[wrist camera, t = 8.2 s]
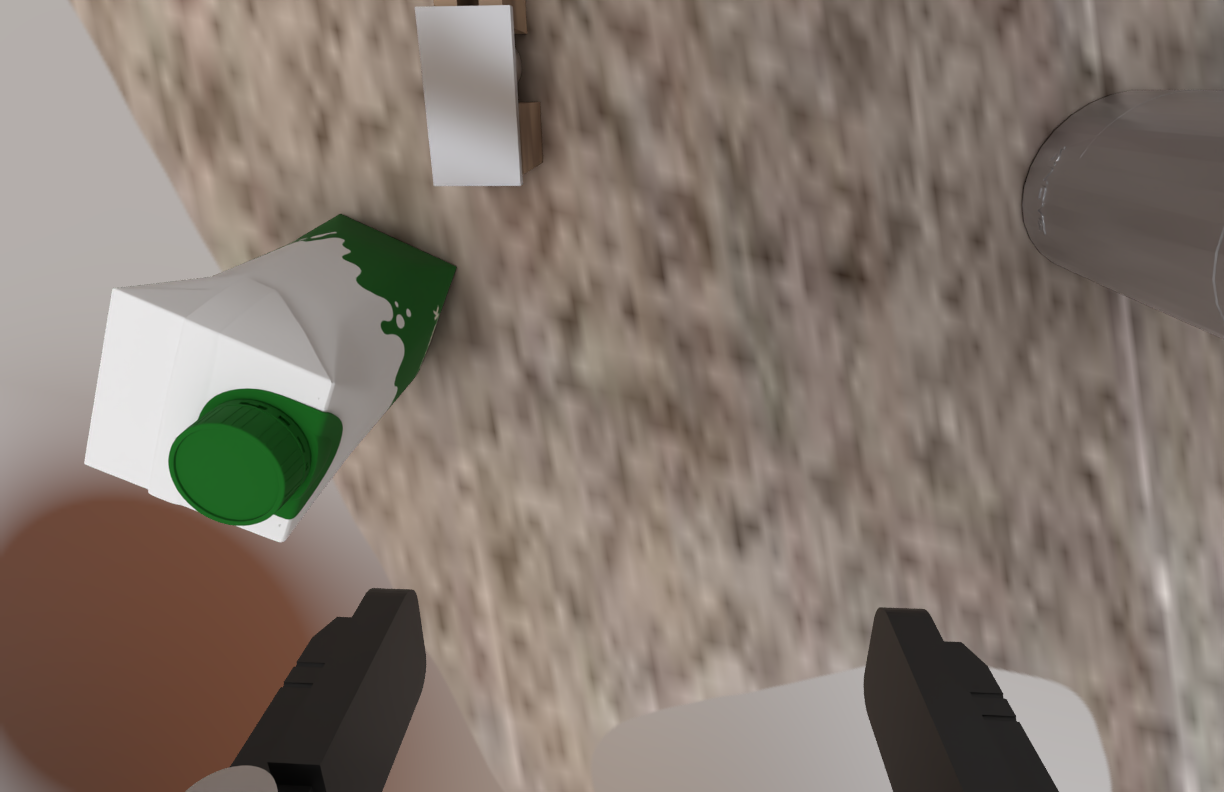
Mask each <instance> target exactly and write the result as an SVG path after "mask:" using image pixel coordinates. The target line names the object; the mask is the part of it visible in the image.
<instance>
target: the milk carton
mask: <svg viewBox="0 0 1224 792" xmlns="http://www.w3.org/2000/svg"><path fill="white" fill-rule="evenodd" d="M456 268H457V267H456V266H454V265H452V264H450V263H447V262H445V261H443V260H441V259H439V258H436V257H434V256H432V255H430V254H428V253H425V252H423V251H421V250H419V249H417V248H414V247H412V246H410V245H408V244H406V243H403V242H401V241H399V240H397V239H395V238H392V237H390V236H388V235H386V234H384V233H381V232H379V231H377V230H375V229H373V228H370V227H368V226H366V225H364V224H362V223H360V222H357V221H355V220H353V219H351V218H349V217H346V216H344V215H342V214H339V215H337V216H336V217H334V218H332V219H331V220H329V221H327V222H326V223H324V224H322V225H320V226H319V227H317V228H315V229H314V230H312V231H310V232H309V233H307V234H305V235H303V236H302V237H300V238H298V239H297V240H295V241H293V242H292V243H290V244H288V245H286V246H283V247H281V248H279V249H276V250H274V251H271V252H269V253H267V254H264V255H262V256H260V257H257V258H255V259H252V260H250V261H248V262H245V263H243V264H240V265H238V266H236V267H233V268H231V269H228V270H226V271H224V272H221V273H219V274H217V275H214V276H212V277H205V278H197V279H189V280H181V281H173V282H164V283H156V284H147V285H138V286H130V287H121V288H113V290H112V295H111V301H110V307H109V313H108V319H107V325H106V331H105V338H104V344H103V351H102V356H101V362H100V369H99V375H98V381H97V387H96V394H95V400H94V406H93V412H92V418H91V424H90V431H89V437H88V443H87V449H86V455H85V464H86V465H88V466H91V467H93V468H96V469H98V470H101V471H103V472H106V473H108V474H111V475H113V476H116V477H118V478H121V479H124V480H126V481H129V482H131V483H134V484H136V485H139V486H142V487H144V488H147V489H149V490H148V492H149V494H151V495H153V496H155V497H158V498H160V499H162V500H165V501H168V502H171V503H173V504H180V505H183V506H185V507H188V508H191V509H193V510H196V511H198V512H200V513H201V514H203V515H204V516H206V517H208V518H210V519H213V520H215V521H218V522H221V523H224V524H228V525H235V526H238V527H240V528H243V529H246V530H248V531H251V532H253V533H256V534H259V535H261V536H264V537H266V538H269V539H272V540H275V541H277V542H283V541H285V540H286V539H287V538H288V536H289V535H290V533H291V532H292V531H293V530H294V528H295V527H296V525H297V524H298V523H299V521H300V520H301V519H302V517H303V516H304V515H305V513H306V512H307V511H308V509H309V508H310V507H311V505H312V504H313V503H314V501H315V500H316V499H317V497H318V496H319V495H320V493H321V492H322V491H323V489H324V488H325V487H326V485H327V484H328V483H329V481H330V480H331V479H332V477H333V476H334V475H335V473H336V472H337V471H338V469H339V468H340V467H341V465H342V464H343V463H344V462H345V460H346V459H347V458H348V456H349V455H350V454H351V453H352V451H353V450H354V449H355V448H356V447H357V445H358V444H359V443H360V442H361V441H362V440H363V438H364V437H365V436H366V435H367V434H368V432H369V431H370V430H371V429H372V428H373V427H374V425H375V424H376V423H377V422H378V421H379V419H380V418H381V417H382V416H383V415H384V414H385V412H386V411H387V410H388V409H389V408H390V406H391V405H392V404H393V403H394V402H395V401H396V399H397V398H398V397H399V396H400V395H401V393H402V392H403V391H404V390H405V389H406V388H407V386H408V385H409V384H410V383H411V382H412V380H413V379H414V378H415V376H416V375H417V374H418V372H419V370H420V367H421V365H422V362H423V360H424V357H425V355H426V352H427V349H428V347H429V344H430V342H431V339H432V336H433V333H434V330H435V327H436V324H437V321H438V319H439V316H440V313H441V310H442V307H443V304H444V302H445V299H446V296H447V293H448V290H449V287H450V285H451V282H452V279H453V276H454V273H455V270H456Z"/></svg>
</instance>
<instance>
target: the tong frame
mask: <svg viewBox="0 0 1224 792" xmlns="http://www.w3.org/2000/svg"><path fill="white" fill-rule="evenodd" d="M415 13H416V23H417V32H418V42H419V51H420V60H421V70H422V79H423V89H424V98H425V107H426V117H427V126H428V136H429V145H430V154H431V164H432V173H433V183H434V186H521V185H522V184H523V177H522V174H525V173H527V172H528V171H530V170H531V169H533V168H534V167H536V166H538V165H539V164H541V163H542V162H543V153H542V131H541V109H540V102H518V91H517V73H516V56H515V39H514V34H527V20H526V1H525V0H479V6H433V7H415Z"/></svg>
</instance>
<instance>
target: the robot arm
mask: <svg viewBox="0 0 1224 792" xmlns="http://www.w3.org/2000/svg"><path fill="white" fill-rule="evenodd" d="M1022 207H1023V216H1024V223H1025V226H1026V229H1027V232H1028V234H1029V237H1030V239H1031V241H1032V242H1033V243H1034V245H1035V246H1036V248H1037V249H1038V250H1039V252H1040V253H1042V254H1043V255H1044V256H1045V257H1046V258H1048V259H1049V260H1050V261H1051V262H1053V263H1055V264H1057V265H1059V266H1061V267H1063V268H1065V269H1068V270H1070V271H1072V272H1074V273H1076V274H1079V275H1081V276H1083V277H1085V278H1087V279H1090V280H1092V281H1094V282H1096V283H1098V284H1100V285H1102V286H1104V287H1107V288H1109V289H1111V290H1113V291H1116V292H1118V293H1120V294H1123V295H1125V296H1127V297H1129V298H1132V299H1134V300H1136V301H1138V302H1141V303H1143V304H1145V305H1147V306H1150V307H1152V308H1154V309H1156V310H1159V311H1161V312H1163V313H1165V314H1168V315H1170V316H1172V317H1175V318H1177V319H1179V320H1181V321H1184V322H1186V323H1188V324H1190V325H1193V326H1195V327H1197V328H1199V329H1202V330H1204V331H1206V332H1208V333H1211V334H1213V335H1215V336H1218V337H1220V338H1222V339H1224V90H1131V91H1126V92H1122V93H1117V94H1112V95H1109V96H1107V97H1104V98H1102V99H1099V100H1097V101H1095V102H1092V103H1090V104H1088V105H1087V106H1085V107H1084V108H1082V109H1081V110H1079V111H1078V112H1076V113H1074V114H1073V115H1071V116H1070V117H1069V118H1068V119H1067V120H1066V121H1065V122H1064V123H1062V124H1061V125H1060V126H1059V127H1058V128H1057V129H1056V130H1055V131H1054V132H1053V133H1052V135H1051V136H1050V137H1049V138H1048V140H1047V141H1046V142H1045V143H1044V145H1043V146H1042V147H1041V149H1040V150H1039V152H1038V154H1037V156H1036V158H1035V160H1034V162H1033V163H1032V165H1031V167H1030V170H1029V173H1028V176H1027V180H1026V183H1025V186H1024V194H1023V203H1022ZM425 673H426V653H425V646H424V639H423V632H422V625H421V618H420V612H419V605H418V599H417V595H416V593H415V591H414V590H410V589H381V588H372V589H370V590H369V591H368V592H367V593H366V594H365V596H364V598H363V599H362V601H361V603H360V604H359V606H358V608H357V610H356V611H355V613H354V615H353V616H352V618H351V617H349V618H348V617H337V618H335V619H334V620H333V621H332V622H331V623H329V624H328V625H327V626H326V627H325V628H323V629H322V630H321V631H320V632H318V633H317V634H316V635H315V636H314V637H313V638H312V639H311V640H310V642H309V644H308V645H307V647H306V648H305V650H304V651H303V653H302V655H301V656H300V658H299V659H298V661H297V665H296V667H293V669H292V670H291V672H290V673H289V675H288V677H287V678H286V680H285V681H284V686H283V687H281V688H280V689H279V691H278V692H277V694H276V695H275V697H274V699H273V700H272V702H271V703H270V705H269V707H268V708H267V710H266V711H265V713H264V714H263V716H262V718H261V719H260V721H259V722H258V724H257V726H256V727H255V729H254V730H253V732H252V733H251V735H250V736H249V738H248V740H247V741H246V743H245V744H244V746H243V747H242V749H241V751H240V752H239V754H238V755H237V757H236V758H235V760H234V762H233V763H232V764H231V766H230V767H229V768H226V769H223V770H220V771H218V772H215V773H213V774H211V775H209V776H207V777H205V778H203V779H202V780H200V781H199V782H197V783H195V784H194V785H193V786H192V787H190V788H189V789H188V790H187V791H186V792H382V791H383V788H384V785H385V783H386V780H387V778H388V775H389V773H390V770H391V768H392V765H393V763H394V760H395V757H396V755H397V753H398V750H399V748H400V745H401V743H402V740H403V738H404V735H405V733H406V730H407V727H408V725H409V722H410V720H411V717H412V715H413V712H414V710H415V707H416V705H417V702H418V700H419V697H420V695H421V692H422V688H423V684H424V679H425ZM864 698H865V705H866V710H867V713H868V717H869V720H870V723H871V726H872V729H873V732H874V735H875V738H876V741H877V744H878V747H879V750H880V753H881V756H882V759H883V762H884V765H885V768H886V771H887V774H888V777H889V780H890V783H891V786H892V789H893V792H1059V791H1058V789H1057V788H1056V786H1055V784H1054V782H1053V781H1052V779H1051V777H1050V775H1049V774H1048V772H1047V770H1046V768H1045V766H1044V765H1043V763H1042V761H1041V759H1040V758H1039V756H1038V754H1037V752H1036V751H1035V749H1034V747H1033V745H1032V744H1031V742H1030V740H1029V738H1028V737H1027V735H1026V733H1025V731H1024V729H1023V728H1022V726H1021V724H1020V723H1019V722H1017V721H1016V715H1015V714H1014V712H1013V710H1012V708H1011V707H1010V705H1009V703H1008V701H1007V700H1006V699H1004V698H1003V693H1002V691H1001V689H1000V687H999V685H998V684H997V682H996V680H995V678H994V677H993V675H992V673H991V671H990V670H989V668H988V666H987V665H986V664H985V663H984V662H982V661H981V660H980V659H979V658H978V657H977V656H976V655H975V654H974V653H973V652H971V651H970V650H969V649H968V648H967V647H966V646H965V645H964V644H963V643H962V642H944V641H943V639H942V637H941V635H940V633H939V631H938V629H937V627H936V625H935V623H934V621H933V619H932V617H931V616H930V614H929V613H928V611H926V610H925V609H909V608H878V609H877V611H876V614H875V617H874V623H873V628H872V634H871V640H870V645H869V651H868V657H867V662H866V668H865V674H864Z"/></svg>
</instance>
